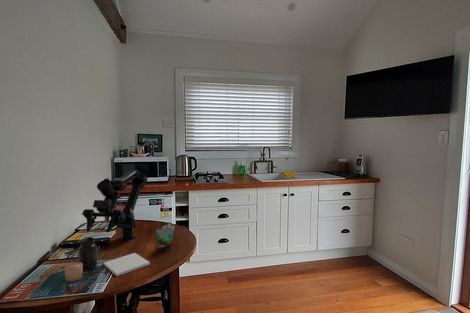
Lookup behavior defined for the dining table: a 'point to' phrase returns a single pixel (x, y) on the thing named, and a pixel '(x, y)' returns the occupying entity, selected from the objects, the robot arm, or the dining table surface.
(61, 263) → the dining table surface
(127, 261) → the pad
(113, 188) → the robot arm
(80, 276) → the tan rounded piece
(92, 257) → the supplement bottle
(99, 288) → the dining table surface
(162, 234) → the food container
